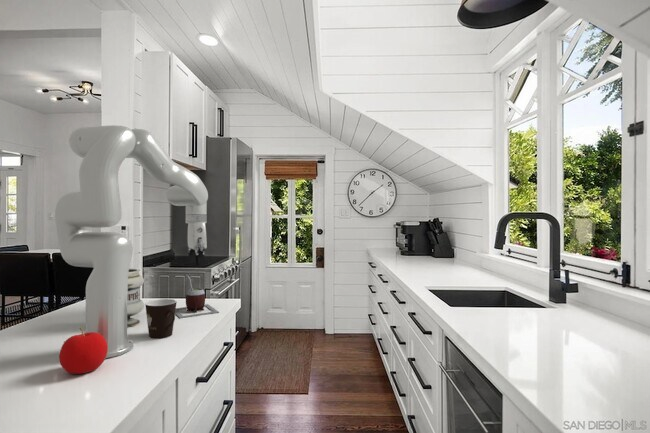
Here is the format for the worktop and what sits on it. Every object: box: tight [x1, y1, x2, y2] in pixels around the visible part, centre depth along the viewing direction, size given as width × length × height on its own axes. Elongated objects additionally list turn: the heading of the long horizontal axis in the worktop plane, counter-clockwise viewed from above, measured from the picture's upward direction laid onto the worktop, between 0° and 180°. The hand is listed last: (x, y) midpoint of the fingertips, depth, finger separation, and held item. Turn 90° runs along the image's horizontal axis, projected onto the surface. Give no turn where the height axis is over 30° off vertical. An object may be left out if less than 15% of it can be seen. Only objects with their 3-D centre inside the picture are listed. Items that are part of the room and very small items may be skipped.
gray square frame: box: [175, 303, 220, 319], centre depth 134 cm, size 14×14×1 cm
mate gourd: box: [184, 273, 206, 314], centre depth 134 cm, size 8×8×15 cm
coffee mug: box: [144, 298, 178, 340], centre depth 105 cm, size 12×9×10 cm
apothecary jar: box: [127, 267, 145, 328], centre depth 117 cm, size 12×12×18 cm
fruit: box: [58, 326, 108, 375], centre depth 82 cm, size 9×9×10 cm
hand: (196, 263), depth 134 cm, fingers open, 9 cm apart
